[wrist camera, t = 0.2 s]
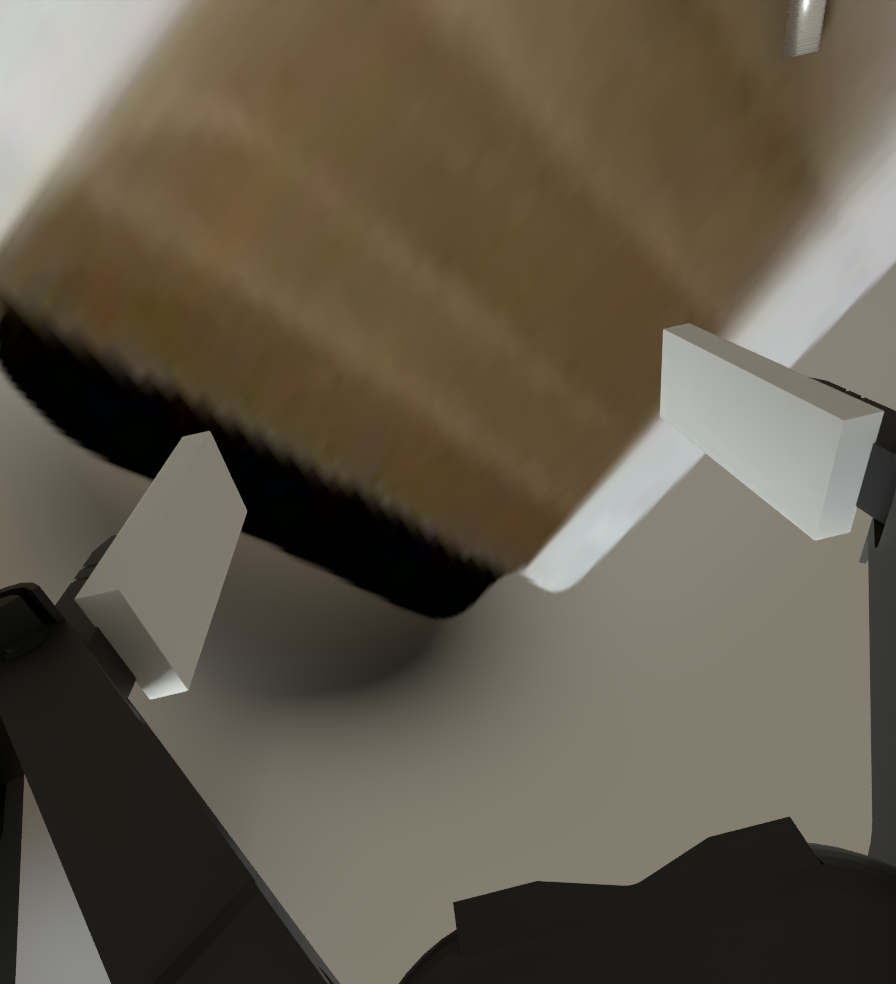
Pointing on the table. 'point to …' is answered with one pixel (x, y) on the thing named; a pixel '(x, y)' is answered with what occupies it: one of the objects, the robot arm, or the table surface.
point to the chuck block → (803, 27)
